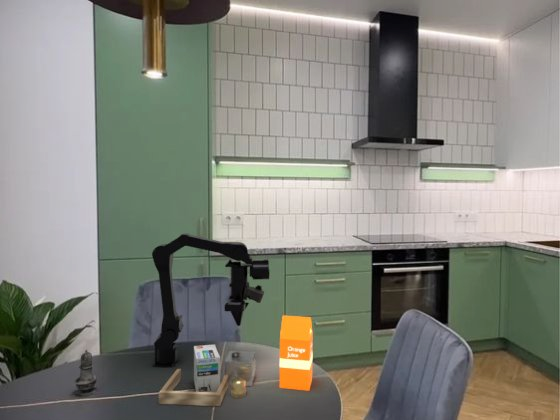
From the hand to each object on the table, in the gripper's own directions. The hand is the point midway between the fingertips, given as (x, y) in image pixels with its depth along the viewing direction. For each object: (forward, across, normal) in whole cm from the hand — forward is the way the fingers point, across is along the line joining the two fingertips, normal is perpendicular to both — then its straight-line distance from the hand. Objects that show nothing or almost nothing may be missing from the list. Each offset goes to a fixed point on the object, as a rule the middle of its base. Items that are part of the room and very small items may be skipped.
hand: (238, 325), depth 130 cm
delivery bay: (+12, -22, +8) cm, 26 cm away
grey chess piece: (+12, -25, +39) cm, 48 cm away
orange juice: (+12, -15, -20) cm, 28 cm away
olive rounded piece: (+12, -23, -4) cm, 26 cm away
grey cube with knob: (+12, -14, -3) cm, 19 cm away
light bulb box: (+12, -20, +6) cm, 24 cm away
